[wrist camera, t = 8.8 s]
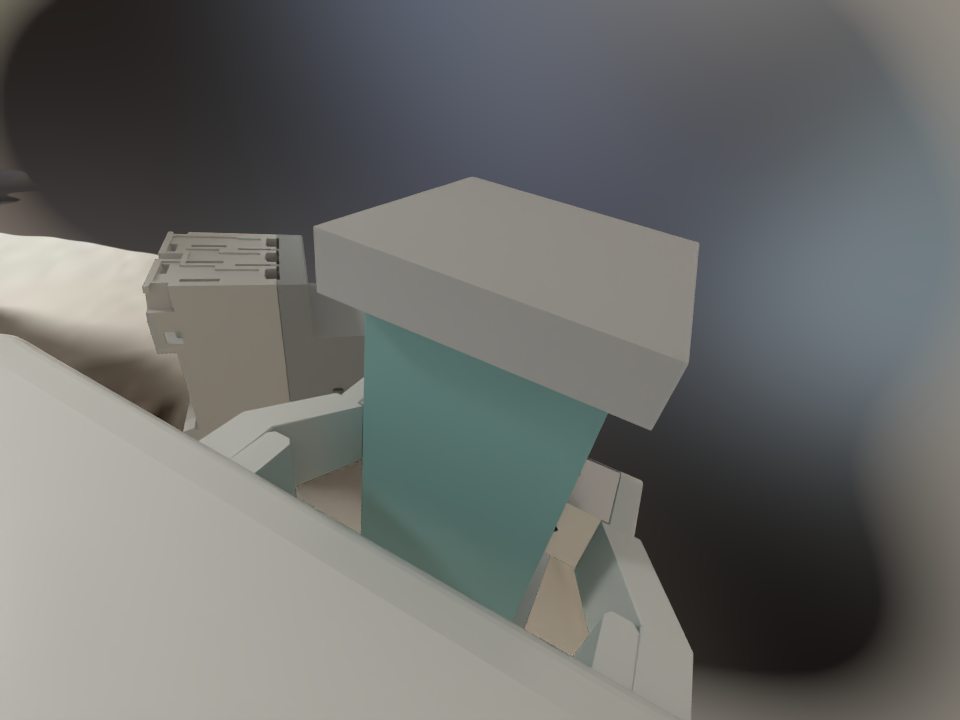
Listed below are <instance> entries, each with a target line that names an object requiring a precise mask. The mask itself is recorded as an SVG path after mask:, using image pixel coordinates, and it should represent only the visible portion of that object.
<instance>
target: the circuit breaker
mask: <svg viewBox="0 0 960 720" xmlns="http://www.w3.org/2000/svg"><path fill="white" fill-rule="evenodd" d="M277 246H278V248H277ZM158 255H159V259H155V261H154V263H153V265H152V267H151V269H150V271H149V274H148V276H147V278H146V280H145V282H144V284H143V286H142V288H143V293H145V294H146V301H147V312H146V316H147V322H148V325H149V329H150V332H151V335H152V338H153V341H154V344H155V347H156V350H157V353H158V354H166V353H177V354H178V358H179V361H180V365H181V368H182V372H183V375H184V379H185V382H186V385H187V389H188V392H189V396H190V401H189V406H188V410H187V415H186V419H185V424H184V429H183V432H184V433H186V434H187V435H189V436H191V437H193V438H194V439H196V440H198V441H199V440H201V439H202V438H204V437H205V436H207V435H208V434H210V433H212V432H213V431H215V430H216V429H218V428H219V427H221V426H222V425H224V424H225V423H227V422H228V421H230V420H231V419H233V418H234V417H236V416H237V415H239V414H240V413H242V412H244V411H249V410H254V409H259V408H264V407H269V406H274V405H279V404H284V403H289V402H294V401H299V400H304V399H309V398H313V397H318V396H323V395H328V394H333V393H338V394H340V395H342V394H343V393H344V392H345V391H347V390H348V389H349V388H350V387H352V386H353V385H354V384H356V383H357V382H358V381H359V380H361V379H362V378H363V377H364V349H365V312H363V311H361V310H358V309H356V308H354V307H351V306H349V305H346V304H344V303H342V302H339V301H337V300H334V299H332V298H329V297H327V296H325V295H322V294H320V293H317V286H316V283H308V279H307V270H306V262H305V255H304V247H303V239H302V236H301V235H277V239H276V235H271V234H270V235H268V234H234V233H199V232H197V233H196V232H189V233H188V234H173V232H168V234H167V236H166V238H165V240H164V242H163V244H162V246H161V248H160V251H159V253H158ZM278 255H279V256H278Z"/></svg>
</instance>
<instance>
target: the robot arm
mask: <svg viewBox="0 0 960 720" xmlns="http://www.w3.org/2000/svg"><path fill="white" fill-rule="evenodd" d="M363 402H364V377H363V378H362V379H361V380H359V381H358V382H357V383H356V384H354V385H353V386H352V387H350V388H349V389H348V390H347V391H345V392H344V393H343V394H342V395H340V394H338V393H333V394H328V395H323V396H318V397H313V398H309V399H304V400H299V401H294V402H289V403H284V404H279V405H274V406H269V407H264V408H259V409H254V410H249V411H244V412H242V413H240V414H239V415H237V416H236V417H234V418H233V419H231V420H230V421H228V422H227V423H225V424H224V425H222V426H221V427H219V428H218V429H216V430H215V431H213V432H212V433H210V434H208V435H207V436H205V437H204V438H202V439H201V440H199V441H198V440H196V439H194V438H193V437H191V436H189V435H187V434H186V433H184V432H182V431H180V430H179V429H177V428H175V427H174V426H172V425H170V424H168V423H167V422H165V421H163V420H161V419H160V418H158V417H156V416H155V415H153V414H151V413H149V412H148V411H146V410H144V409H142V408H141V407H139V406H137V405H136V404H134V403H132V402H130V401H129V400H127V399H125V398H123V397H122V396H120V395H118V394H117V393H115V392H113V391H111V390H110V389H108V388H106V387H104V386H103V385H101V384H99V383H97V382H96V381H94V380H92V379H91V378H89V377H87V376H85V375H84V374H82V373H80V372H78V371H77V370H75V369H73V368H71V367H70V366H68V365H66V364H65V363H63V362H61V361H59V360H58V359H56V358H54V357H52V356H51V355H49V354H47V353H46V352H44V351H42V350H41V349H39V348H37V347H36V346H34V345H32V344H31V343H29V342H27V341H25V340H23V339H21V338H19V337H17V336H13V335H8V334H0V720H691V705H692V704H691V703H692V675H693V652H692V650H691V647H690V645H689V643H688V641H687V639H686V637H685V635H684V632H683V630H682V628H681V626H680V624H679V622H678V619H677V617H676V615H675V613H674V611H673V609H672V607H671V604H670V602H669V600H668V598H667V596H666V594H665V592H664V589H663V587H662V585H661V583H660V581H659V579H658V577H657V574H656V572H655V570H654V568H653V566H652V564H651V562H650V559H649V557H648V555H647V553H646V551H645V549H644V547H643V544H642V542H641V540H639V539H637V538H635V537H634V534H635V528H636V522H637V516H638V511H639V505H640V499H641V494H642V488H643V483H642V481H641V480H639V479H636V478H634V477H632V476H629V475H627V474H625V473H622V472H619V471H617V470H615V469H613V468H610V467H608V466H605V465H604V464H601V463H599V462H597V461H594V460H592V459H590V458H588V457H587V460H586V462H585V464H584V466H583V468H582V470H581V473H580V475H579V477H578V479H577V481H576V484H575V486H574V488H573V490H572V492H571V494H570V497H569V499H568V501H567V503H566V505H565V507H564V510H563V512H562V514H561V516H560V518H559V521H558V523H557V525H556V527H555V529H554V531H553V534H552V536H551V538H550V540H549V542H548V544H547V547H546V549H545V551H544V552H546V553H547V554H549V555H551V556H553V557H555V558H557V559H558V560H560V561H562V562H564V563H566V564H567V565H569V566H571V567H573V568H575V570H574V571H575V575H576V580H577V584H578V588H579V593H580V597H581V601H582V606H583V610H584V614H585V619H586V623H587V627H588V632H589V636H588V637H587V638H586V640H585V641H584V643H583V644H582V645H581V647H580V648H579V649H578V651H577V652H576V654H575V655H574V656H573V657H572V656H570V655H568V654H567V653H565V652H563V651H561V650H560V649H558V648H556V647H555V646H553V645H551V644H549V643H548V642H546V641H544V640H542V639H541V638H539V637H537V636H535V635H534V634H532V633H530V632H529V631H527V630H525V629H523V628H522V627H520V626H518V625H516V624H515V623H513V622H511V621H509V620H508V619H506V618H504V617H503V616H501V615H499V614H497V613H496V612H494V611H492V610H490V609H489V608H487V607H485V606H483V605H482V604H480V603H478V602H476V601H475V600H473V599H471V598H470V597H468V596H466V595H464V594H463V593H461V592H459V591H457V590H456V589H454V588H452V587H450V586H449V585H447V584H445V583H444V582H442V581H440V580H438V579H437V578H435V577H433V576H431V575H430V574H428V573H426V572H424V571H423V570H421V569H419V568H418V567H416V566H414V565H412V564H411V563H409V562H407V561H405V560H404V559H402V558H400V557H398V556H397V555H395V554H393V553H392V552H390V551H388V550H386V549H385V548H383V547H381V546H379V545H378V544H376V543H374V542H373V541H371V540H369V539H367V538H366V537H364V536H362V535H360V534H359V533H357V532H355V531H354V530H352V529H350V528H348V527H347V526H345V525H343V524H341V523H340V522H338V521H336V520H334V519H333V518H331V517H329V516H328V515H326V514H324V513H322V512H321V511H319V510H317V509H315V508H314V507H312V506H310V505H309V504H307V503H305V502H303V501H302V500H300V499H298V498H297V497H296V489H295V487H296V486H298V485H300V484H303V483H305V482H308V481H310V480H313V479H315V478H318V477H320V476H323V475H325V474H327V473H330V472H332V471H335V470H337V469H340V468H342V467H345V466H347V465H350V464H352V463H354V462H357V461H359V460H362V455H363Z"/></svg>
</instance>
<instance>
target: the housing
mask: <svg viewBox="0 0 960 720" xmlns="http://www.w3.org/2000/svg"><path fill="white" fill-rule="evenodd" d="M313 228H314V247H315V266H316V286H317V293H320V294H322V295H325V296H327V297H329V298H332V299H334V300H337V301H339V302H342V303H344V304H346V305H349V306H351V307H354V308H356V309H358V310H361V311H363V312H365V349H364V402H363V455H362V509H361V535H362V536H364V537H366V538H367V539H369V540H371V541H373V542H374V543H376V544H378V545H379V546H381V547H383V548H385V549H386V550H388V551H390V552H392V553H393V554H395V555H397V556H398V557H400V558H402V559H404V560H405V561H407V562H409V563H411V564H412V565H414V566H416V567H418V568H419V569H421V570H423V571H424V572H426V573H428V574H430V575H431V576H433V577H435V578H437V579H438V580H440V581H442V582H444V583H445V584H447V585H449V586H450V587H452V588H454V589H456V590H457V591H459V592H461V593H463V594H464V595H466V596H468V597H470V598H471V599H473V600H475V601H476V602H478V603H480V604H482V605H483V606H485V607H487V608H489V609H490V610H492V611H494V612H496V613H497V614H499V615H501V616H503V617H504V618H506V619H508V620H509V621H511V622H513V623H515V624H516V625H518V626H520V627H522V628H523V629H524V628H525V625H526V623H527V620H528V617H529V614H530V611H531V609H532V606H533V603H534V600H535V597H536V595H537V592H538V589H539V586H540V583H541V580H542V578H543V575H544V572H545V569H546V566H547V564H548V561H549V558H550V555H549V554H547V553H546V552H544V551H545V549H546V547H547V544H548V542H549V540H550V538H551V536H552V534H553V531H554V529H555V527H556V525H557V523H558V521H559V518H560V516H561V514H562V512H563V510H564V507H565V505H566V503H567V501H568V499H569V497H570V494H571V492H572V490H573V488H574V486H575V484H576V481H577V479H578V477H579V475H580V473H581V470H582V468H583V466H584V464H585V462H586V460H587V457H588V455H589V453H590V451H591V449H592V447H593V444H594V442H595V440H596V438H597V436H598V433H599V431H600V429H601V427H602V425H603V423H604V420H605V418H606V416H607V414H608V413H610V414H612V415H615V416H617V417H619V418H622V419H624V420H627V421H629V422H632V423H634V424H636V425H639V426H641V427H644V428H646V429H649V430H652V428H653V427H654V425H655V423H656V421H657V419H658V418H659V416H660V414H661V412H662V410H663V409H664V407H665V405H666V403H667V401H668V399H669V398H670V396H671V394H672V392H673V390H674V389H675V387H676V385H677V383H678V382H679V380H680V378H681V376H682V374H683V372H684V371H685V369H686V367H687V365H688V364H689V352H690V342H691V330H692V319H693V307H694V296H695V285H696V273H697V261H698V249H699V243H698V242H694V241H690V240H687V239H684V238H680V237H677V236H674V235H670V234H667V233H663V232H660V231H657V230H653V229H650V228H646V227H643V226H640V225H636V224H633V223H629V222H626V221H622V220H619V219H616V218H612V217H609V216H605V215H602V214H599V213H595V212H592V211H588V210H585V209H581V208H578V207H575V206H571V205H568V204H564V203H561V202H557V201H554V200H551V199H547V198H544V197H541V196H537V195H533V194H530V193H527V192H523V191H520V190H516V189H513V188H510V187H506V186H503V185H499V184H496V183H493V182H489V181H486V180H482V179H479V178H476V177H470V178H466V179H463V180H460V181H457V182H454V183H450V184H447V185H444V186H441V187H438V188H434V189H432V190H428V191H425V192H422V193H418V194H415V195H412V196H409V197H406V198H403V199H400V200H396V201H393V202H390V203H387V204H383V205H381V206H377V207H374V208H371V209H367V210H364V211H361V212H358V213H355V214H351V215H348V216H345V217H342V218H339V219H335V220H332V221H329V222H326V223H323V224H320V225H316V226H314V227H313Z"/></svg>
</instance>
